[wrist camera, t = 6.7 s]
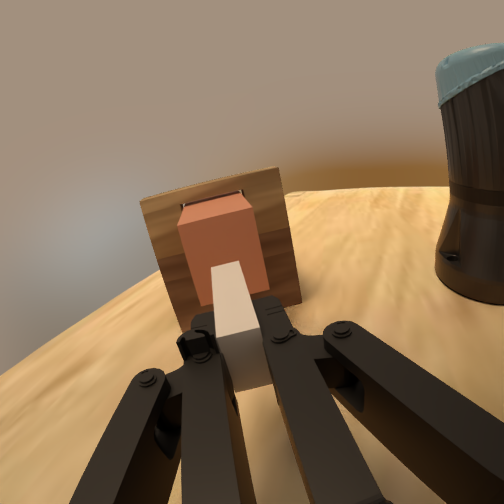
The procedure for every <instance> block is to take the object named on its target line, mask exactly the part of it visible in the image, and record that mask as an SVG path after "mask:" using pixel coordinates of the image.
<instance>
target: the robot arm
mask: <svg viewBox="0 0 504 504" xmlns="http://www.w3.org/2000/svg"><path fill="white" fill-rule="evenodd" d="M435 75H436V82H437V90H438V97H439V103H438V106H439V109H441V113H442V120H443V126H444V133H445V141H446V149H447V159H448V171H449V186H450V201H449V205H448V209H447V213H446V216H445V220H444V223H443V226H442V230H441V233H440V236H439V239H438V242H437V245H436V253H435V270H436V273H437V275H438V277H439V278H440V279H441V280H442V282H443V283H445V284H446V285H447V286H448V287H450V288H451V289H453V290H454V291H456V292H458V293H460V294H462V295H464V296H467V297H470V298H472V299H476V300H479V301H483V302H488V303H495V304H504V43H493V44H485V45H479V46H475V47H470V48H467V49H464V50H461V51H458V52H455V53H453V54H451V55H449V56H447V57H446V58H444V59H443V60H442V61H441V62H440V63H439V64H438V66H437V68H436V74H435ZM211 276H212V290H213V304H214V311H210V312H205V313H201V314H197V315H195V316H194V318H193V319H192V321H191V330H188V331H186V332H185V333H183V334H182V335H181V336H180V337H179V338H178V339H177V342H176V343H177V346H178V348H179V351H180V353H181V355H182V358H183V360H184V365H183V366H182V367H180V368H179V369H177V370H175V371H173V372H171V373H168V374H166V375H165V374H164V371H162V370H160V369H156V368H151V369H146V370H144V371H141V372H140V373H138V374H137V375H136V376H135V377H134V378H133V379H132V381H131V383H130V384H129V386H128V388H127V390H126V392H125V394H124V396H123V397H122V399H121V401H120V403H119V405H118V407H117V409H116V410H115V412H114V414H113V416H112V418H111V420H110V422H109V424H108V426H107V428H106V430H105V431H104V433H103V435H102V437H101V439H100V441H99V443H98V445H97V447H96V449H95V451H94V453H93V455H92V457H91V459H90V461H89V463H88V465H87V467H86V469H85V471H84V473H83V475H82V477H81V479H80V481H79V483H78V486H77V488H76V490H75V492H74V494H73V496H72V498H71V500H70V502H69V504H168V501H169V497H170V494H171V490H172V487H173V483H174V480H175V476H176V473H177V470H178V466H179V463H180V459H181V485H182V504H257V503H256V498H255V494H254V489H253V484H252V479H251V473H250V468H249V463H248V458H247V453H246V447H245V442H244V436H243V431H242V425H241V419H240V414H239V408H238V402H237V399H236V397H235V394H234V390H235V393H236V392H240V391H245V390H249V389H253V388H257V387H261V386H265V385H269V384H273V386H274V390H275V394H276V398H277V402H278V405H279V407H280V410H281V413H282V416H283V419H284V423H285V426H286V429H287V432H288V435H289V439H290V442H291V445H292V448H293V451H294V455H295V458H296V461H297V464H298V467H299V470H300V473H301V476H302V479H303V483H304V486H305V489H306V492H307V495H308V498H309V501H310V504H393V503H392V502H391V501H388V500H386V499H385V498H384V497H383V495H382V493H381V491H380V489H379V487H378V486H377V484H376V482H375V480H374V478H373V476H372V474H371V472H370V470H369V468H368V466H367V464H366V462H365V460H364V458H363V456H362V454H361V452H360V450H359V448H358V446H357V444H356V442H355V440H354V438H353V436H352V434H351V432H350V430H349V428H348V426H347V424H346V422H345V420H344V418H343V416H342V414H341V412H340V410H339V408H338V406H337V404H336V402H335V400H334V399H333V397H332V395H333V396H334V397H335V398H336V399H337V400H338V401H339V402H340V403H341V404H342V405H343V406H344V407H345V408H346V409H347V410H348V411H349V412H350V413H351V414H352V415H353V416H354V417H355V418H356V419H357V420H358V421H359V422H360V423H361V424H362V425H363V426H364V427H365V428H366V429H367V430H369V431H370V432H371V433H372V434H373V435H374V436H375V437H376V438H377V439H378V440H379V441H380V442H381V443H382V444H383V445H384V446H385V447H386V448H387V449H388V450H389V451H390V452H391V453H392V454H393V455H394V456H396V457H397V458H398V459H399V460H400V461H401V462H402V463H403V464H404V465H405V466H406V467H407V468H408V469H409V470H410V471H412V472H413V473H414V474H415V475H416V476H417V477H418V478H419V479H420V480H421V481H422V482H424V483H425V484H426V485H427V486H428V487H429V488H430V489H431V490H432V491H433V492H435V493H436V494H437V495H438V496H439V497H440V498H441V499H442V500H444V501H445V502H446V503H447V504H504V423H503V422H502V421H500V420H499V419H497V418H496V417H494V416H493V415H491V414H490V413H488V412H487V411H485V410H484V409H482V408H481V407H479V406H478V405H476V404H475V403H474V402H472V401H471V400H469V399H468V398H466V397H465V396H463V395H462V394H460V393H459V392H457V391H456V390H454V389H453V388H451V387H450V386H448V385H447V384H445V383H444V382H442V381H441V380H439V379H438V378H436V377H435V376H433V375H432V374H430V373H429V372H427V371H426V370H425V369H423V368H422V367H420V366H419V365H417V364H416V363H414V362H413V361H411V360H410V359H408V358H407V357H405V356H404V355H402V354H401V353H399V352H398V351H396V350H395V349H393V348H392V347H390V346H389V345H387V344H386V343H384V342H383V341H381V340H380V339H379V338H377V337H376V336H374V335H373V334H371V333H370V332H368V331H367V330H365V329H364V328H362V327H361V326H359V325H358V324H356V323H354V322H351V321H337V322H334V323H331V324H330V325H328V326H327V327H326V328H325V329H324V331H323V335H316V336H308V335H303V334H300V332H299V331H298V330H297V329H295V328H293V326H292V324H291V322H290V320H289V318H288V316H287V314H286V312H285V310H284V308H283V306H282V304H281V302H280V300H279V299H278V298H276V297H274V296H273V295H270V296H266V297H263V298H259V299H255V300H251V298H250V295H249V292H248V289H247V285H246V282H245V279H244V276H243V273H242V270H241V267H240V263H239V261H235V262H231V263H227V264H223V265H219V266H215V267H211ZM331 394H332V395H331Z"/></svg>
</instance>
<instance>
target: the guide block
mask: <svg viewBox="0 0 504 504" xmlns="http://www.w3.org/2000/svg"><path fill="white" fill-rule="evenodd" d="M237 190H241V191H242V195H243V197H244V198H245V199H246V200H247V201H248V202H249V204H250V205H251V206H252V207H253V212H254V216H255V221H256V226H257V231H258V235H259V240H260V245H261V250H262V254H263V259H264V264H265V269H266V274H267V278H268V283H269V288H270V289H269V290H265V291H261V292H258V293H254V294H250V298H251V300H255V299H259V298H263V297H266V296H270V295H273V296H274V297H276V298H278V299H279V300H280V302H281V304H282V306H283V308H284V307H288V306H291V305H295V304H299V303H302V299H301V293H300V286H299V280H298V274H297V267H296V261H295V255H294V249H293V244H292V238H291V232H290V226H289V221H288V215H287V210H286V204H285V199H284V194H283V188H282V183H281V178H280V173H279V168H278V167H274V166H273V167H268V168H263V169H258V170H254V171H249V172H245V173H240V174H236V175H231V176H227V177H223V178H218V179H214V180H211V181H206V182H202V183H198V184H194V185H190V186H187V187H183V188H179V189H175V190H171V191H168V192H164V193H160V194H157V195H154V196H150V197H146V198H144V199H142V200H141V201H140V205H141V209H142V212H143V216H144V219H145V223H146V226H147V230H148V233H149V236H150V239H151V243H152V246H153V249H154V252H155V256H156V259H157V262H158V265H159V268H160V271H161V274H162V277H163V280H164V283H165V286H166V289H167V292H168V295H169V297H170V300H171V303H172V306H173V309H174V311H175V314H176V317H177V319H178V322H179V325H180V327H181V330H182V332H186V331H188V330H191V321H192V319H193V318H194V316H195V315H197V314H201V313H205V312H210V311H214V304H209V305H205V306H201V304H200V301H199V298H198V295H197V292H196V288H195V285H194V282H193V279H192V275H191V272H190V269H189V266H188V262H187V259H186V255H185V252H184V249H183V245H182V242H181V238H180V235H179V231H178V227H177V225H178V222H179V219H180V217H181V214H182V211H183V209H184V208H183V204H184V203H188V202H192V201H196V200H200V199H204V198H208V197H212V196H216V195H220V194H224V193H228V192H232V191H237Z"/></svg>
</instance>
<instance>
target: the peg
mask: <svg viewBox="0 0 504 504" xmlns="http://www.w3.org/2000/svg"><path fill="white" fill-rule="evenodd" d="M177 227H178V231H179V235H180V238H181V242H182V245H183V249H184V252H185V255H186V259H187V262H188V266H189V269H190V272H191V275H192V279H193V282H194V285H195V288H196V292H197V295H198V298H199V301H200V304H201V306H205V305H209V304H213V290H212V276H211V267H215V266H219V265H223V264H227V263H231V262H235V261H239V263H240V267H241V270H242V273H243V276H244V279H245V282H246V285H247V289H248V292H249V295H250V294H254V293H258V292H261V291H265V290H269V289H270V288H269V283H268V278H267V274H266V269H265V264H264V259H263V254H262V250H261V245H260V240H259V235H258V231H257V226H256V221H255V216H254V212H253V207H252V206H251V205H250V204H249V202H248V201H247V200H246V199H245V198H244V197H243V195H242V194H241V193H240V192H239V191H238V190H237V191H232V192H228V193H224V194H220V195H216V196H212V197H208V198H204V199H200V200H196V201H192V202H188V203H185V206H184V209H183V211H182V214H181V217H180V219H179V222H178V225H177Z"/></svg>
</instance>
